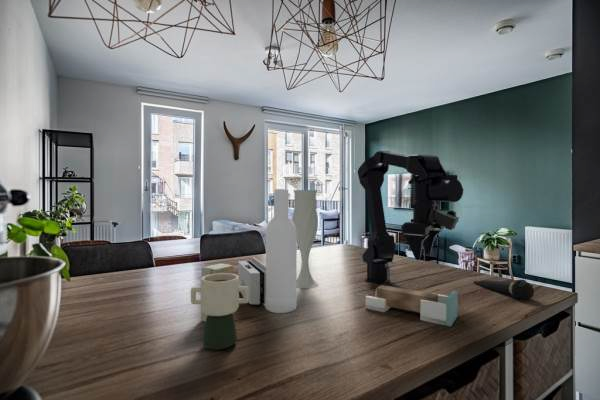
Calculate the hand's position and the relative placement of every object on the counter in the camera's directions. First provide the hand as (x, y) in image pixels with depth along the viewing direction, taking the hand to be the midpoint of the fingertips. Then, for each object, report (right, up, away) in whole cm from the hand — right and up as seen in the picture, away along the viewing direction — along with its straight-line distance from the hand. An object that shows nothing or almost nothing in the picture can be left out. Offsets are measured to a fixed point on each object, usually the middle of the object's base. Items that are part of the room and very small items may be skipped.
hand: (423, 257), depth 93 cm
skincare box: (-53, -12, -15) cm, 57 cm away
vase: (-32, -11, +14) cm, 37 cm away
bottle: (-39, -12, -8) cm, 41 cm away
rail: (-8, -11, -10) cm, 17 cm away
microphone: (+26, -12, +7) cm, 29 cm away
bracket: (-47, -12, 0) cm, 49 cm away
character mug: (-49, -12, -29) cm, 58 cm away
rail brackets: (-8, -12, -10) cm, 17 cm away
